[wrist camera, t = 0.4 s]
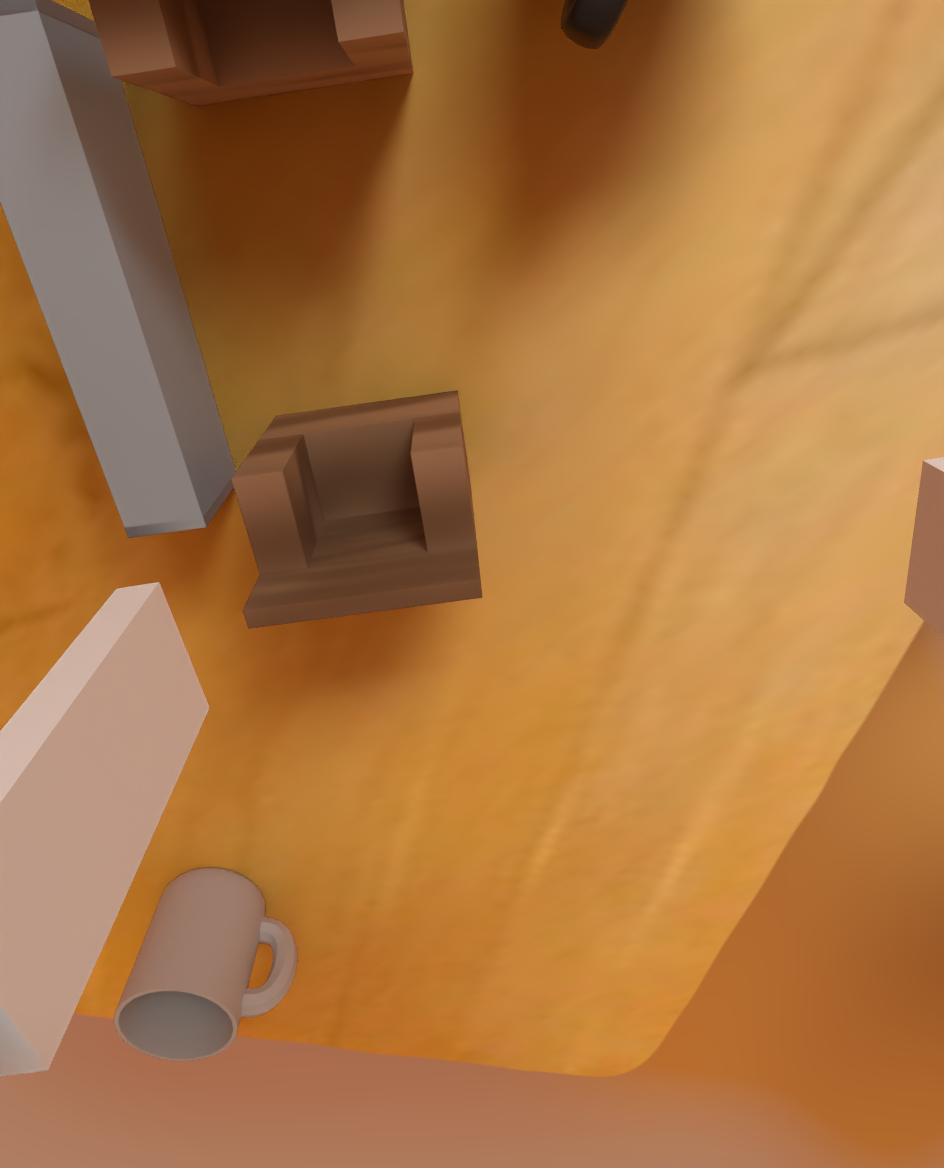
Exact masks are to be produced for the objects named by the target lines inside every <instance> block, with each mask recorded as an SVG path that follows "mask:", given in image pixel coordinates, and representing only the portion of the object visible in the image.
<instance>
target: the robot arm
mask: <svg viewBox="0 0 944 1168" xmlns="http://www.w3.org/2000/svg"><path fill="white" fill-rule="evenodd" d="M904 603H905V604H906V605H907V606H908V607H910V608H911V609H912V610H913V611H914V612H915V613H916V614H917V615H919V616H920V617H921V618H922V619H923V620H924V621H925V622H927V623H928V624H929V625H930V626H931V627H932V628H933V629H934V630H935V631H937V632H938V633H939V634H940V635H941V636H942V637H944V457H942V458H936V459H929V460H923V465H922V472H921V480H920V487H919V495H918V502H917V510H916V517H915V525H914V532H913V540H912V547H911V555H910V562H909V569H908V577H907V584H906V592H905V599H904ZM209 708H210V707H209V705H208V703H207V700H206V698H205V695H204V693H203V690H202V688H201V685H200V683H199V680H198V678H197V675H196V673H195V670H194V668H193V665H192V663H191V660H190V658H189V655H188V653H187V650H186V648H185V645H184V643H183V640H182V638H181V635H180V633H179V630H178V628H177V625H176V623H175V620H174V618H173V615H172V613H171V610H170V608H169V605H168V603H167V600H166V598H165V595H164V593H163V590H162V588H161V585H160V583H159V582H155V583H149V584H143V585H136V586H130V587H124V588H117V589H116V590H115V591H114V592H113V593H112V595H111V596H110V597H109V598H108V600H107V601H106V602H105V603H104V605H103V606H102V607H101V608H100V609H99V611H98V612H97V613H96V614H95V616H94V617H93V618H92V619H91V621H90V622H89V623H88V624H87V625H86V627H85V628H84V629H83V630H82V632H81V633H80V634H79V635H78V636H77V638H76V639H75V640H74V641H73V643H72V644H71V645H70V646H69V648H68V649H67V650H66V651H65V652H64V654H63V655H62V656H61V657H60V659H59V660H58V661H57V662H56V664H55V665H54V666H53V667H52V668H51V670H50V671H49V672H48V673H47V675H46V676H45V677H44V678H43V680H42V681H41V682H40V683H39V684H38V686H37V687H36V688H35V689H34V691H33V692H32V693H31V694H30V696H29V697H28V698H27V699H26V700H25V702H24V703H23V704H22V705H21V707H20V708H19V709H18V710H17V711H16V713H15V714H14V715H13V716H12V718H11V719H10V720H9V721H8V723H7V724H6V725H5V726H4V727H3V729H2V730H1V731H0V1077H1V1076H8V1075H15V1074H23V1073H31V1072H38V1071H46V1070H48V1069H49V1067H50V1065H51V1063H52V1060H53V1058H54V1056H55V1054H56V1052H57V1049H58V1047H59V1045H60V1043H61V1040H62V1038H63V1036H64V1033H65V1031H66V1029H67V1027H68V1025H69V1022H70V1020H71V1018H72V1016H73V1013H74V1011H75V1009H76V1007H77V1004H78V1002H79V1000H80V998H81V995H82V993H83V991H84V989H85V986H86V984H87V982H88V980H89V977H90V975H91V973H92V971H93V969H94V966H95V964H96V962H97V960H98V957H99V955H100V953H101V951H102V948H103V946H104V944H105V942H106V939H107V937H108V935H109V933H110V930H111V928H112V926H113V924H114V921H115V919H116V917H117V915H118V912H119V910H120V908H121V906H122V903H123V901H124V899H125V897H126V894H127V892H128V890H129V888H130V885H131V883H132V881H133V879H134V877H135V874H136V872H137V870H138V868H139V865H140V863H141V861H142V859H143V856H144V854H145V852H146V850H147V847H148V845H149V843H150V841H151V838H152V836H153V834H154V832H155V829H156V827H157V825H158V823H159V820H160V818H161V816H162V814H163V811H164V809H165V807H166V805H167V802H168V800H169V798H170V796H171V793H172V791H173V789H174V787H175V785H176V782H177V780H178V778H179V776H180V773H181V771H182V769H183V767H184V764H185V762H186V760H187V758H188V755H189V753H190V751H191V749H192V746H193V744H194V742H195V740H196V737H197V735H198V733H199V731H200V728H201V726H202V724H203V722H204V719H205V717H206V715H207V713H208V710H209Z"/></svg>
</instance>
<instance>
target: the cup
mask: <svg viewBox="0 0 944 1168" xmlns="http://www.w3.org/2000/svg"><path fill="white" fill-rule="evenodd" d="M265 913H266V906H265V900H264V898H263V896H262V894H261V892H260V890H259V888H258V887H257V886H256V885H255V884H254V883H253V882H252V881H251V880H249V879H248V878H246V877H245V876H243V875H241V874H239V873H236V872H234V871H231V870H227V869H222V868H199V869H194V870H190V871H188V872H186V873H183V874H181V875H180V876H178V877H177V878H175V879H174V880H173V881H172V882H170V883H169V884H168V886H167V887H166V889H165V890H164V892H163V894H162V896H161V898H160V900H159V903H158V905H157V908H156V910H155V913H154V915H153V918H152V920H151V923H150V925H149V928H148V930H147V933H146V936H145V938H144V941H143V943H142V946H141V948H140V951H139V953H138V956H137V958H136V961H135V963H134V966H133V968H132V971H131V974H130V976H129V979H128V981H127V984H126V986H125V989H124V991H123V994H122V996H121V999H120V1001H119V1004H118V1006H117V1009H116V1012H115V1017H114V1024H115V1028H116V1031H117V1033H118V1034H119V1035H120V1037H121V1038H122V1039H123V1041H125V1042H126V1043H127V1044H129V1045H130V1046H131V1047H132V1048H134V1049H136V1050H138V1051H140V1052H142V1053H144V1054H146V1055H149V1056H153V1057H156V1058H159V1059H165V1060H172V1061H194V1060H200V1059H206V1058H209V1057H212V1056H214V1055H217V1054H219V1053H221V1052H222V1051H224V1050H225V1049H227V1048H228V1047H229V1046H230V1045H231V1044H232V1042H233V1041H234V1040H235V1038H236V1034H237V1031H238V1027H239V1023H240V1019H241V1017H255V1016H259V1015H263V1014H265V1013H267V1012H268V1011H270V1010H271V1009H273V1008H274V1007H276V1006H277V1005H278V1004H279V1003H280V1001H281V1000H282V999H283V997H284V996H285V995H286V993H287V992H288V991H289V989H290V986H291V984H292V981H293V979H294V977H295V972H296V967H297V962H298V957H297V945H296V942H295V939H294V936H293V934H292V933H291V931H290V930H289V929H288V928H287V927H286V926H285V925H284V924H283V922H280V921H278V920H276V919H273V918H267V917H265ZM259 943H264V944H268V945H270V946H272V950H273V963H272V967H271V971H270V974H269V976H268V979H267V981H266V982H265V984H264V985H262V986H261V987H258V988H248V985H249V981H250V977H251V973H252V969H253V965H254V961H255V956H256V952H257V948H258V944H259Z"/></svg>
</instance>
